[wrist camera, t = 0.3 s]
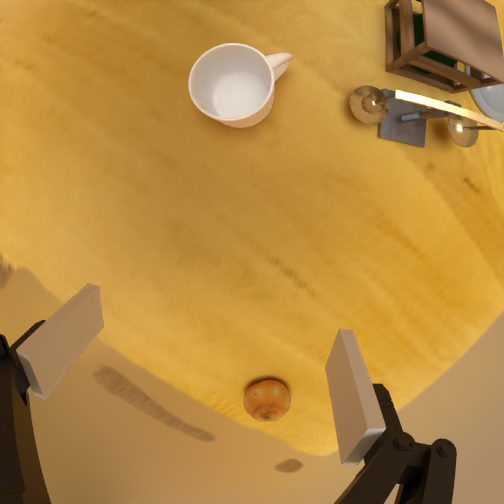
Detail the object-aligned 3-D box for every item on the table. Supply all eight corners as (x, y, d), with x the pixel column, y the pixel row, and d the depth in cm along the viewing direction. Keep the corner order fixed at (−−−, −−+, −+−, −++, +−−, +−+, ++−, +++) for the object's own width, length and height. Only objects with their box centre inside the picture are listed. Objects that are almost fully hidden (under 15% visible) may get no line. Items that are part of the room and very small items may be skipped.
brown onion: (269, 370, 47) (254, 413, 42) (304, 388, 49) (292, 428, 44) (244, 375, 53) (230, 412, 48) (277, 391, 55) (265, 427, 50)
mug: (308, 94, 35) (320, 76, 25) (232, 140, 38) (217, 137, 28) (272, 46, 33) (271, 14, 23) (197, 91, 36) (172, 74, 26)
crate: (384, 6, 29) (418, -32, 16) (449, 30, 28) (494, 7, 16) (385, 71, 33) (427, 45, 20) (452, 93, 32) (505, 83, 20)
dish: (462, 38, 28) (466, 36, 27) (513, 67, 28) (517, 66, 26) (464, 108, 33) (469, 107, 31) (515, 131, 32) (519, 132, 31)
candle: (448, 47, 29) (483, 32, 20) (433, 83, 32) (470, 72, 23) (406, 15, 29) (434, -9, 19) (388, 50, 31) (417, 28, 22)
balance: (344, 82, 34) (383, 47, 19) (452, 111, 33) (519, 105, 18) (340, 130, 36) (380, 120, 21) (448, 155, 36) (516, 165, 21)
